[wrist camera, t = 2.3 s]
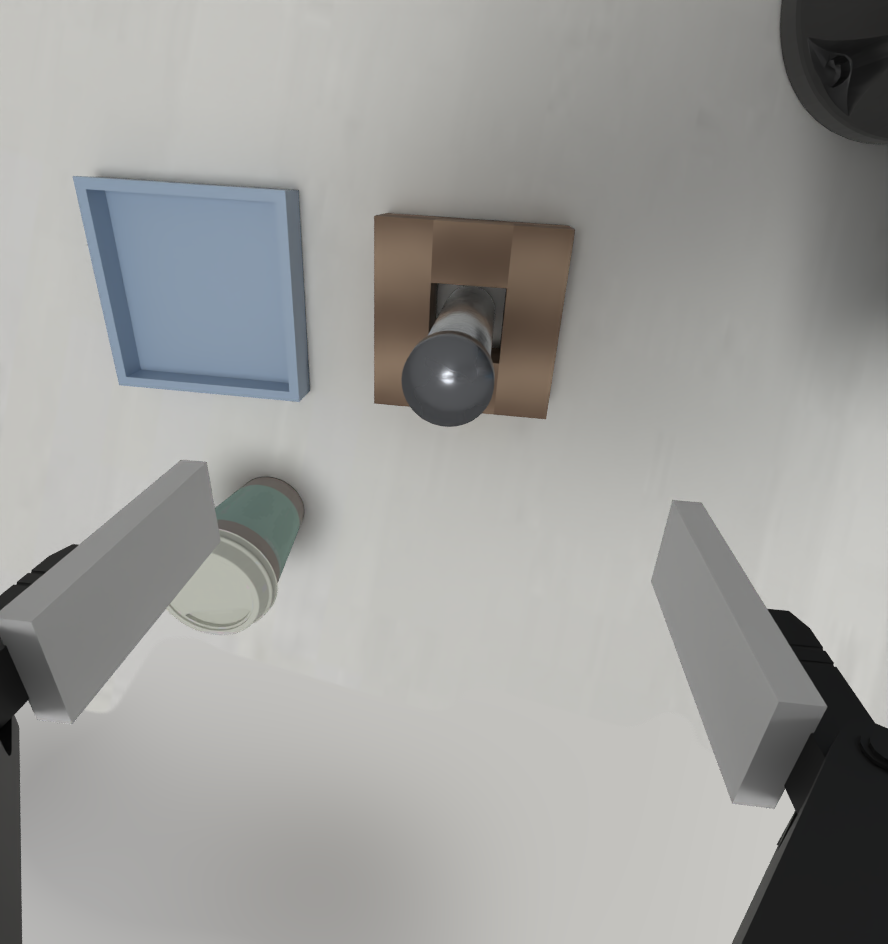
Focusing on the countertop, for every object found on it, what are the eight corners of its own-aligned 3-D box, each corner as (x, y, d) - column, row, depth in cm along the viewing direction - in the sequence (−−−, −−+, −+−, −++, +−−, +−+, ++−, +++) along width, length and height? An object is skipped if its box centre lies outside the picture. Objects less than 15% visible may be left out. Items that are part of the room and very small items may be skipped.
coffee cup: (217, 525, 50) (138, 615, 40) (235, 447, 46) (154, 524, 36) (305, 559, 51) (252, 656, 40) (331, 485, 47) (280, 572, 36)
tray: (98, 176, 38) (72, 176, 35) (298, 190, 37) (285, 190, 35) (138, 375, 44) (119, 385, 42) (309, 390, 43) (299, 401, 41)
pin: (441, 278, 38) (402, 332, 24) (502, 283, 38) (499, 341, 24) (438, 338, 40) (400, 422, 26) (496, 343, 40) (489, 430, 26)
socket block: (387, 213, 37) (374, 215, 33) (568, 225, 36) (575, 229, 33) (385, 385, 42) (374, 403, 39) (542, 399, 42) (545, 419, 38)
